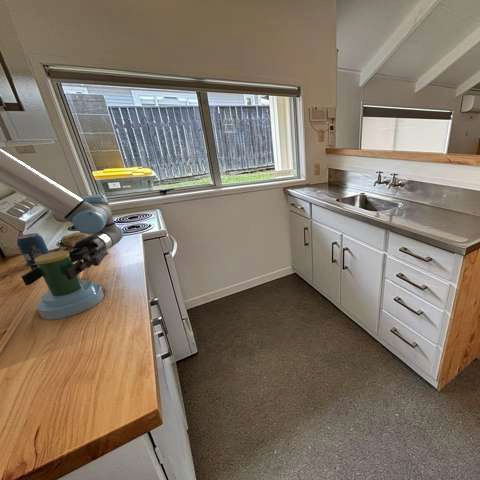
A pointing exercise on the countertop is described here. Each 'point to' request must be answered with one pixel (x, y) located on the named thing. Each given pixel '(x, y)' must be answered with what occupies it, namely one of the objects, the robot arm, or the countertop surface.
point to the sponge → (73, 238)
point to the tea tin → (57, 273)
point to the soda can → (32, 247)
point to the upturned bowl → (70, 301)
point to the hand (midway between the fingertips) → (47, 277)
